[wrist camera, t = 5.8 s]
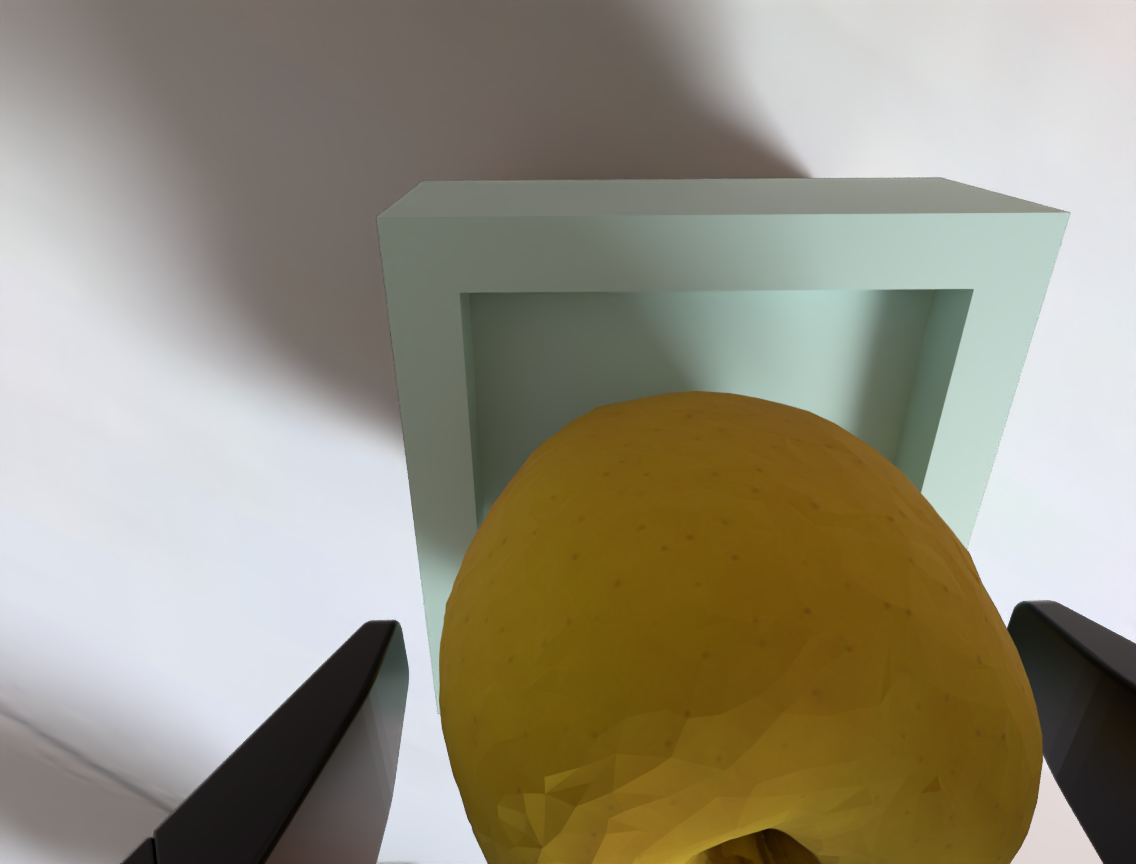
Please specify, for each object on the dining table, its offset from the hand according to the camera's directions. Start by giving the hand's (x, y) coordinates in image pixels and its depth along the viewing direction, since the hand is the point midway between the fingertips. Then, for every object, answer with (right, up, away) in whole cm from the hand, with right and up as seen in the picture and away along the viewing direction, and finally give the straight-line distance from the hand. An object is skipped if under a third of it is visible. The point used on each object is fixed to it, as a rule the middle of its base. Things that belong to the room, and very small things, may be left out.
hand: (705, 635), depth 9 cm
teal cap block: (0, +3, +5) cm, 6 cm away
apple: (0, +2, +3) cm, 4 cm away
